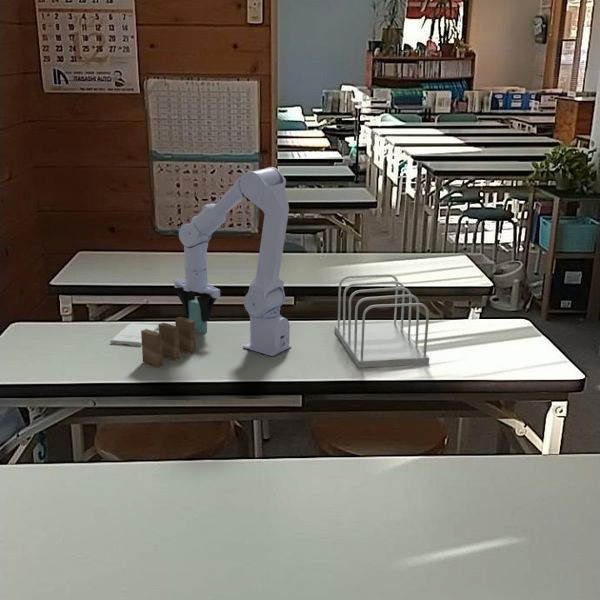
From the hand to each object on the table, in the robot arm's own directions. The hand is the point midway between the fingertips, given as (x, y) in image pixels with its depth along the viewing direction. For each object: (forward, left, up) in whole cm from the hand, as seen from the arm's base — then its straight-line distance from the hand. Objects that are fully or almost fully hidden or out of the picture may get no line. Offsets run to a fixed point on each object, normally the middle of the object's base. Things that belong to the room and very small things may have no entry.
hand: (197, 318), depth 193 cm
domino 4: (0, 0, -3) cm, 3 cm away
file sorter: (-44, -20, -4) cm, 48 cm away
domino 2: (-7, +17, -3) cm, 19 cm away
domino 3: (-7, +11, -3) cm, 14 cm away
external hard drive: (+10, +13, -4) cm, 17 cm away
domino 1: (-7, +22, -3) cm, 24 cm away
